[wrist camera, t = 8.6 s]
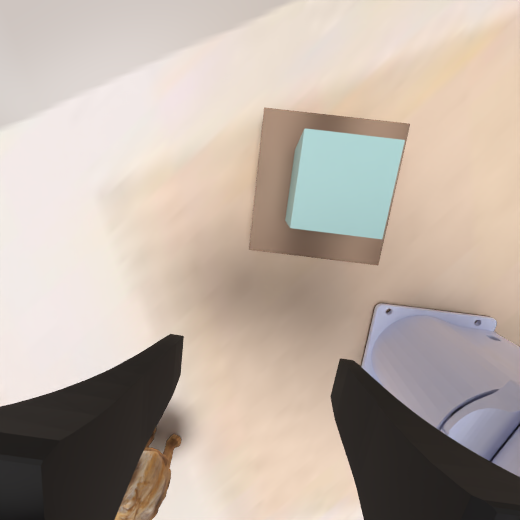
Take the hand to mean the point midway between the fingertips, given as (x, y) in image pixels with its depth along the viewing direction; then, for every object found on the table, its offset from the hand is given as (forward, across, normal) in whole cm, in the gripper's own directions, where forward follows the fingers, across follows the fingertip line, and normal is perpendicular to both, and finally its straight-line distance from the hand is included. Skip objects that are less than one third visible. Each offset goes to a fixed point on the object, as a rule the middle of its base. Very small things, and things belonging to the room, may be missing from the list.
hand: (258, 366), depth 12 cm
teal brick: (+7, -3, -8) cm, 12 cm away
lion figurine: (+10, +9, +18) cm, 23 cm away
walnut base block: (+10, -3, -8) cm, 13 cm away
